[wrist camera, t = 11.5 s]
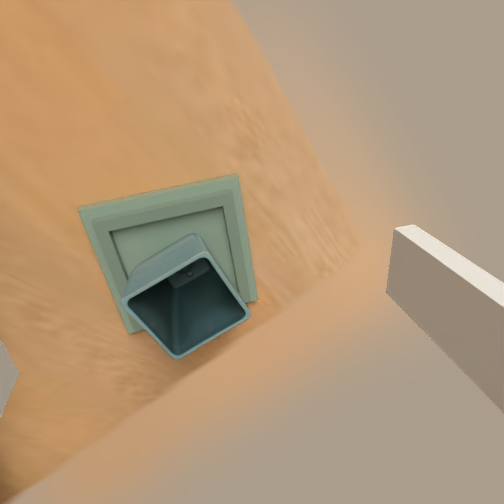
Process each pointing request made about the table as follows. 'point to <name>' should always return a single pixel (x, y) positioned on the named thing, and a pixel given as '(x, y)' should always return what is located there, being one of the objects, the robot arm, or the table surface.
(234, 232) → the baseplate
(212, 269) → the flower pot
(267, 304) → the table surface
